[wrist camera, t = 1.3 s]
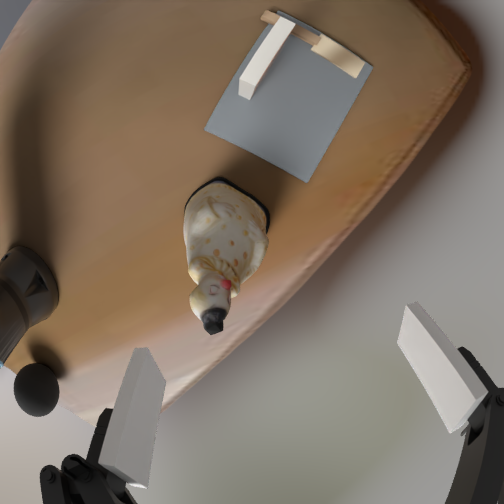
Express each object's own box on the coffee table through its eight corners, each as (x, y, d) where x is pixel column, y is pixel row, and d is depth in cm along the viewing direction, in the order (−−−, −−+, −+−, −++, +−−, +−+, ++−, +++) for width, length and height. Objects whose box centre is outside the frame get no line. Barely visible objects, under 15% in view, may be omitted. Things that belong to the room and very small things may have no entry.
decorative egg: (34, 372, 50) (13, 410, 37) (25, 344, 46) (-1, 385, 32) (69, 391, 53) (51, 433, 39) (64, 365, 48) (40, 411, 35)
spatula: (257, 23, 25) (258, 20, 24) (268, 9, 24) (269, 6, 23) (354, 78, 29) (357, 77, 28) (363, 63, 28) (366, 61, 27)
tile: (238, 94, 30) (239, 78, 20) (268, 46, 27) (280, 16, 18) (250, 100, 30) (255, 86, 21) (280, 51, 27) (296, 24, 18)
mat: (204, 129, 32) (203, 129, 31) (277, 12, 25) (278, 10, 24) (306, 182, 35) (307, 183, 35) (371, 68, 28) (373, 67, 28)
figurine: (281, 212, 37) (325, 292, 19) (241, 271, 40) (247, 378, 22) (206, 167, 34) (172, 207, 16) (170, 233, 37) (119, 323, 19)
